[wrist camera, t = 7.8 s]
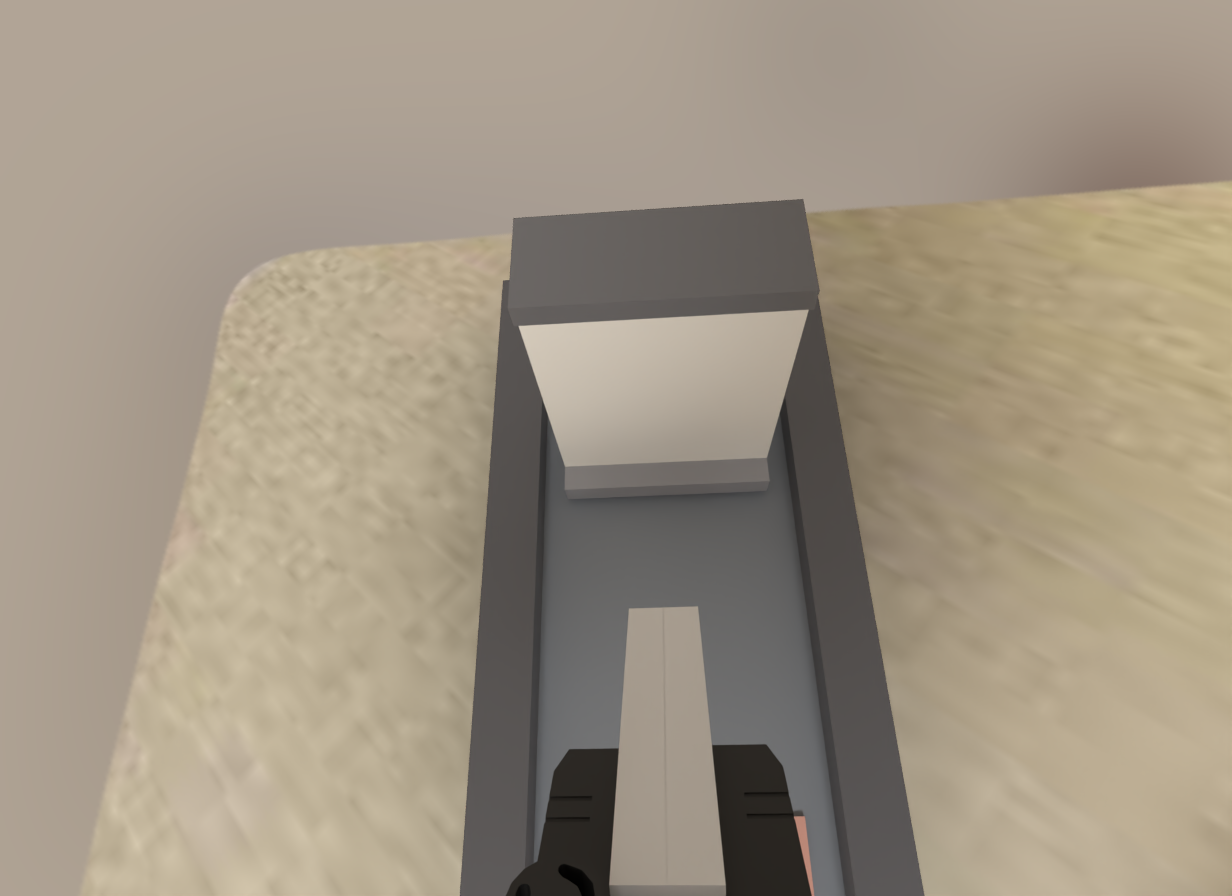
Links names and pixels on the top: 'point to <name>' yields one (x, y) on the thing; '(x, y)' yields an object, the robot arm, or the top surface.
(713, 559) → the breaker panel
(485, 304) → the top surface
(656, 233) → the handle
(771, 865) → the robot arm
